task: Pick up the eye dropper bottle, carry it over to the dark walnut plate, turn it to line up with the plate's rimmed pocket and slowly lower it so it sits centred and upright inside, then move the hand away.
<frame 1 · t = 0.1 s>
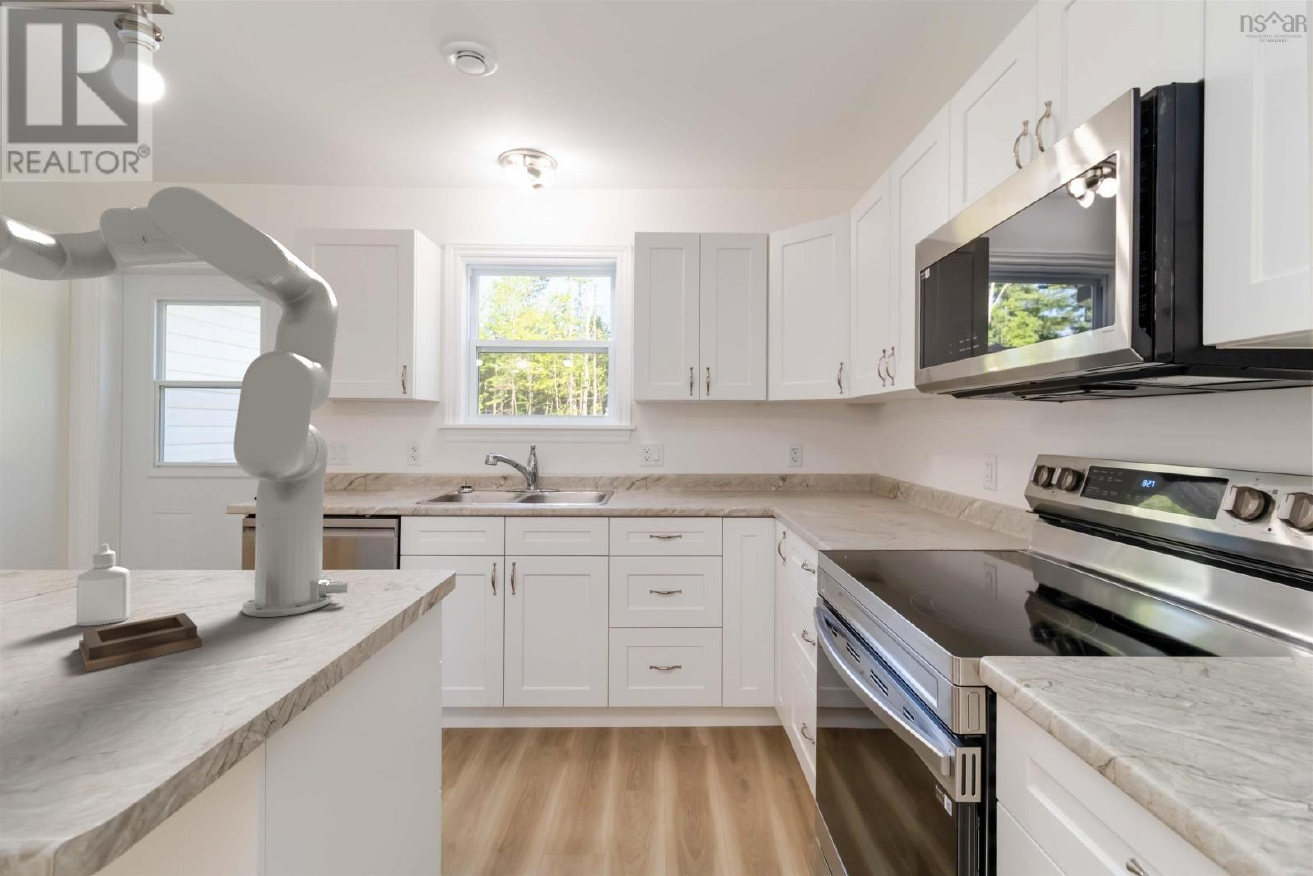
eye dropper bottle: (103, 623, 83), on the countertop
pocket plate: (140, 647, 74), on the countertop
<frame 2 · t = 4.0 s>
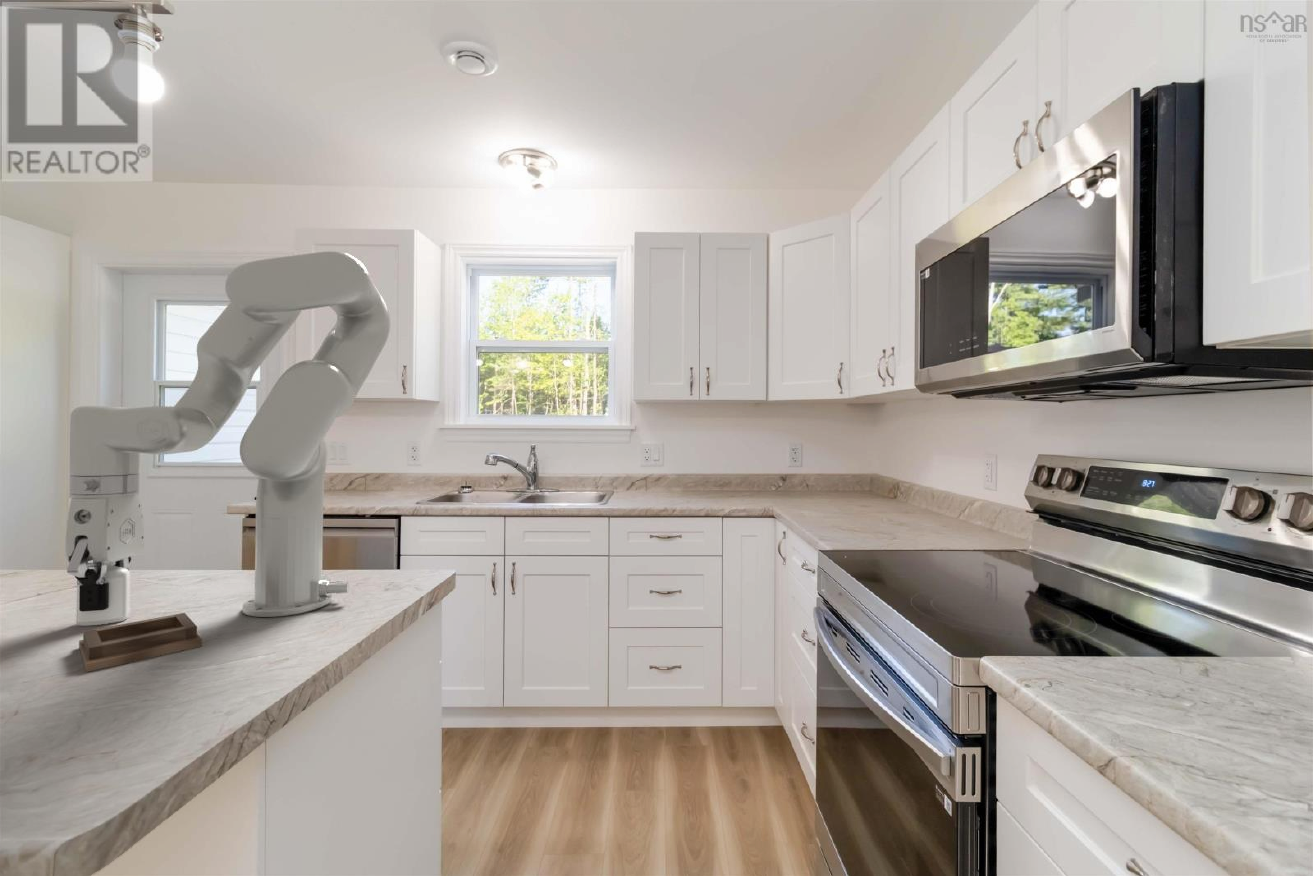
hand: (103, 604, 83), 3 cm above the countertop, tool pointing down, fingers closed on eye dropper bottle, 3 cm apart
eye dropper bottle: (103, 623, 83), on the countertop, touching gripper
when the fingers open (5 cm above the countertop, at t = 10.2 s): eye dropper bottle stays where it is, resting on pocket plate.
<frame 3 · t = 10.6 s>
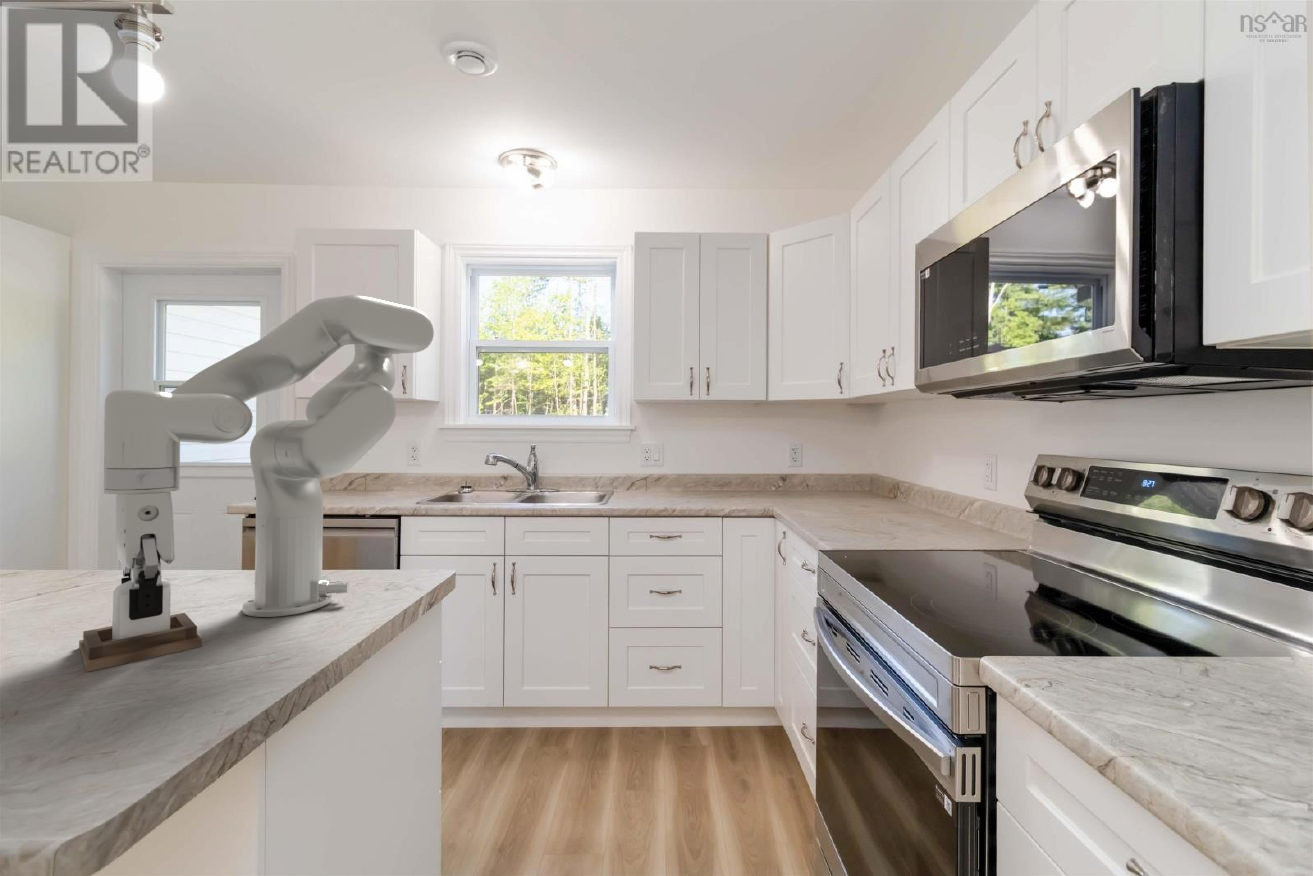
hand: (141, 609, 74), 5 cm above the countertop, tool pointing down, fingers open, 7 cm apart
eye dropper bottle: (141, 641, 74), point 1 cm above the countertop, touching pocket plate
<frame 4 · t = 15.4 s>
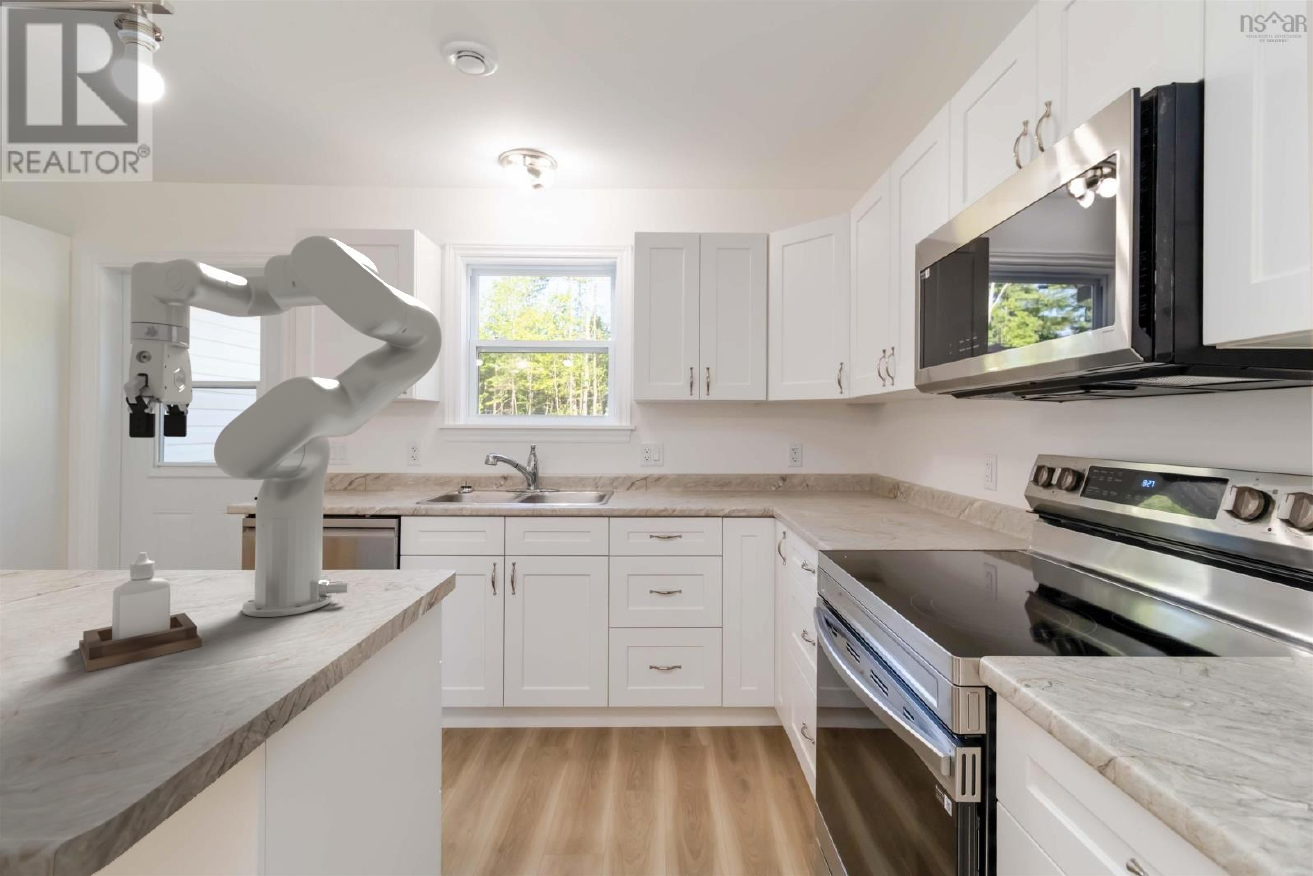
hand: (159, 437, 93), 28 cm above the countertop, tool pointing down, fingers open, 9 cm apart
nothing on the countertop moved.
at the end: eye dropper bottle 0.4 cm off-centre on the pocket plate, point 0.8 cm above the pocket plate's base; eye dropper bottle tilted 0°; the gripper is holding nothing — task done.
